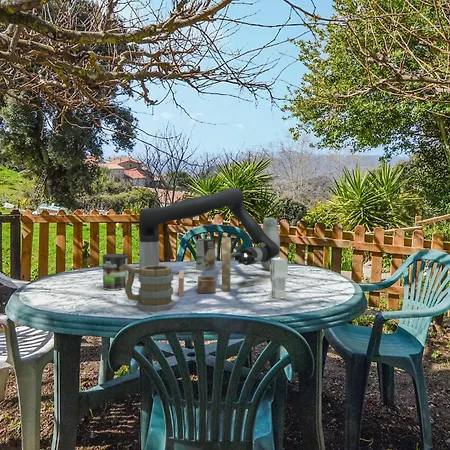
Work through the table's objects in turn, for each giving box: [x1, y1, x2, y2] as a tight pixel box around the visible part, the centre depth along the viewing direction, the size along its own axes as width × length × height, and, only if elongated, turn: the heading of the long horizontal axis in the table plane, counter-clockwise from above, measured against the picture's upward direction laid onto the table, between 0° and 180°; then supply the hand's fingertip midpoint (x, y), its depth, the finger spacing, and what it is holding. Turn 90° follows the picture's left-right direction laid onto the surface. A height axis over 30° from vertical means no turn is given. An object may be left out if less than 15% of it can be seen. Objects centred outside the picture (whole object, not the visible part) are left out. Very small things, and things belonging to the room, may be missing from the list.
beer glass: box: [269, 257, 289, 299], centre depth 165 cm, size 7×7×15 cm
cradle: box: [197, 275, 217, 294], centre depth 174 cm, size 7×9×5 cm
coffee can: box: [102, 253, 128, 291], centre depth 179 cm, size 10×10×14 cm
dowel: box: [221, 237, 232, 293], centre depth 175 cm, size 4×4×22 cm
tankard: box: [119, 263, 176, 312], centre depth 150 cm, size 20×13×15 cm, turn 77°
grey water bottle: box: [260, 217, 281, 271], centre depth 223 cm, size 10×10×28 cm
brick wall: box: [178, 270, 185, 297], centre depth 174 cm, size 2×16×7 cm, turn 5°
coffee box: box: [195, 238, 216, 272], centre depth 226 cm, size 9×6×16 cm
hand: (230, 259), depth 177 cm, fingers open, 8 cm apart
